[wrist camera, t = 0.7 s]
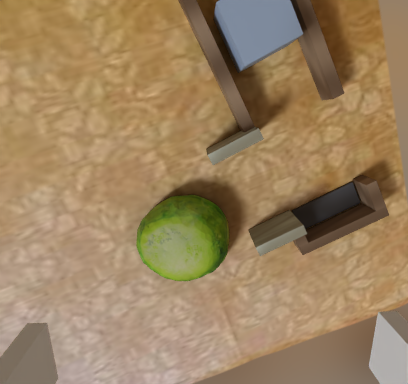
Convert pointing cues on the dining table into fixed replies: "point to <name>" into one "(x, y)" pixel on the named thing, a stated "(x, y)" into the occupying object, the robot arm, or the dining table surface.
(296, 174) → the dining table surface
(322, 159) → the dining table surface
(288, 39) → the block
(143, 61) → the dining table surface
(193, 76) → the dining table surface
